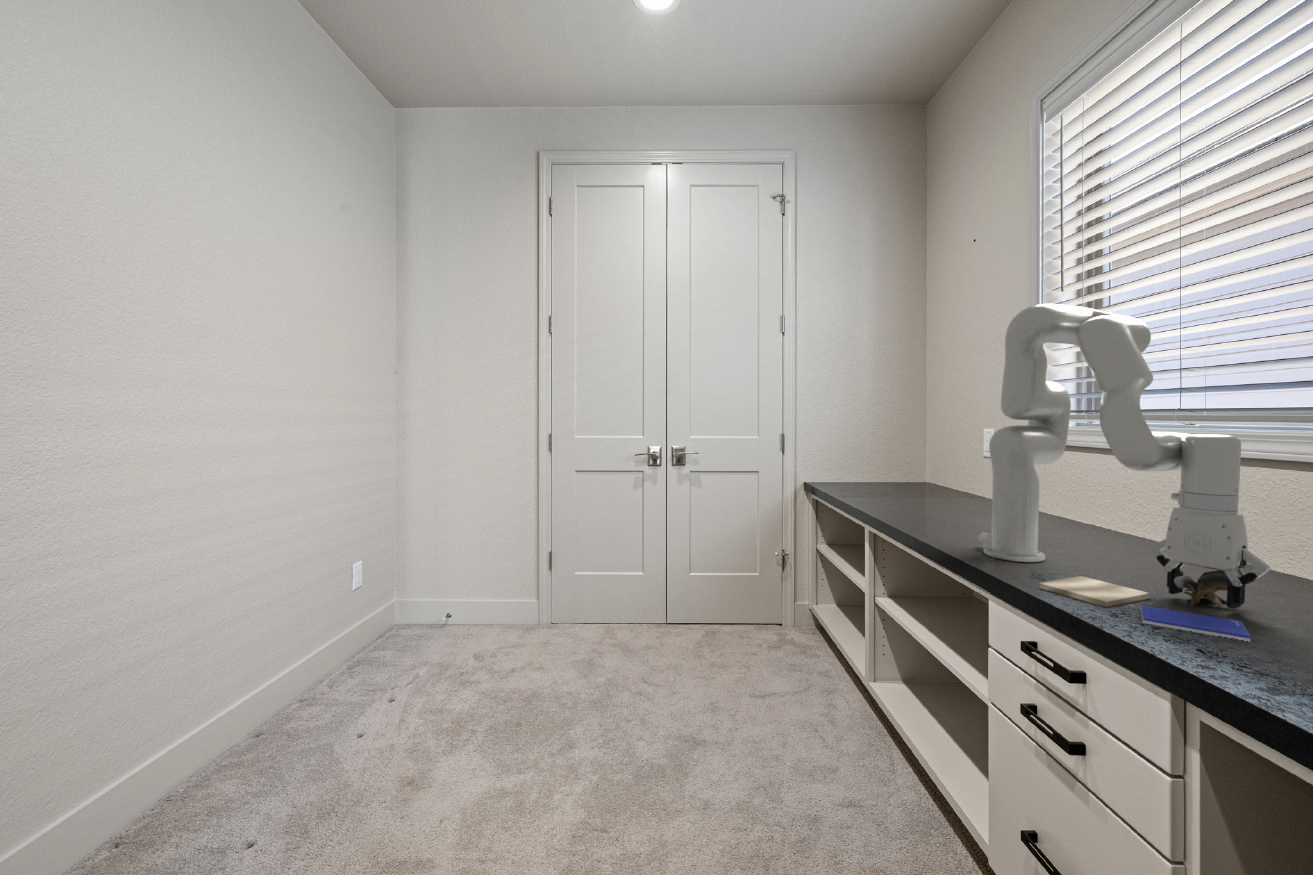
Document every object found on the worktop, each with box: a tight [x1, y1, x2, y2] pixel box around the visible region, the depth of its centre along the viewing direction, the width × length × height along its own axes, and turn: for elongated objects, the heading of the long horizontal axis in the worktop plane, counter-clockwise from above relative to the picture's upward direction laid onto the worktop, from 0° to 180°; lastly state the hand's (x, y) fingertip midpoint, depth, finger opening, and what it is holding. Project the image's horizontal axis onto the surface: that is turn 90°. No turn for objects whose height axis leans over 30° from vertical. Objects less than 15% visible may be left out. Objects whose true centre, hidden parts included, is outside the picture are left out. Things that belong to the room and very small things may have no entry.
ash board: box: [1038, 575, 1151, 608], centre depth 109 cm, size 12×13×1 cm
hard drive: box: [1140, 605, 1251, 643], centre depth 93 cm, size 2×8×12 cm
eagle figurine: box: [1174, 570, 1231, 609], centre depth 103 cm, size 8×7×9 cm
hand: (1203, 599), depth 102 cm, fingers open, 7 cm apart
